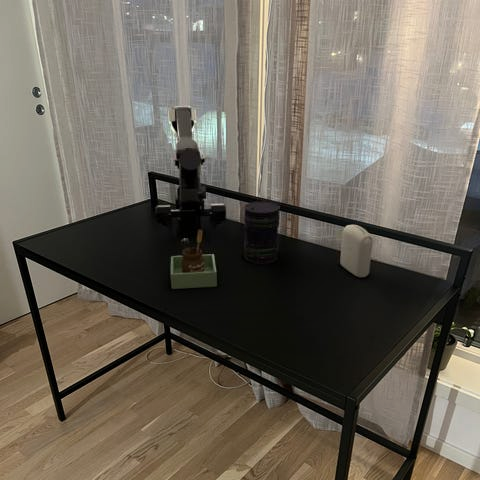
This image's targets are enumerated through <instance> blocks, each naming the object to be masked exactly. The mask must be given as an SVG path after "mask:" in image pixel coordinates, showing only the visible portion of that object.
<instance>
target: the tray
mask: <svg viewBox="0 0 480 480" xmlns="http://www.w3.org/2000/svg"><path fill="white" fill-rule="evenodd" d="M202 257H203V259H204V272H193V273H182V258H183V256H182V255H171V256H170V274H169V275H170V285H171V286H170V287H171V290H177V289H193V288H194V289H195V288H213V287H218V279H217V278H218V276H217V275H218V273H217V267H216V260H215V253H211V254H207V253H206V254H202Z"/></svg>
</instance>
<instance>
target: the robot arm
mask: <svg viewBox="0 0 480 480" xmlns="http://www.w3.org/2000/svg"><path fill="white" fill-rule="evenodd" d="M167 114H168V124H171V132H173V134H174V136H175V137H176V139H177V142H176V143H175V151H174V152H173V160H174V166H175V167H176V168H177V169H178V172H179V174H178V175H179V185H178V187H177V189H176V196H175V198H174V201H175V209H171V205H170V204H163V205H162V204H161V205H156V206H155V208H154V214H155V219H156V222H157V224H161V226H163V227H166V228H167V230H168V233H169V234H170V238H171V240H172V242H173V245H176V244H177V241H176V240H177V239H176V234H175V228H174V222H173V218H177V229H178V231H179V233H180V234H182V236H184V237H186V236H192V235H193V236H194V235H198V230H201V231H203V230H202V225H201V223H202V222H201V217H209V227H208V244H210V243H211V242H212V238H213V236H214V233H215V230H216V229H217V226H218V225H221V224H222V222H226V221H227V206H226V204H225V203H210V208H205V200H206V199H207V186H206V185H201V174H202V166H204V164H205V163H206V157H205V155H204V154H203V152H202V151H201V150H200V149H199V143H198V142H197V141H196V140H194V136H193V132H194V129H195V123H197V110H196V108H194V107H192V106H189V105H178V106H177V105H176V106H172V107H171V108H170V109H168V110H167ZM203 233H204V231H203V232H202V234H203ZM199 234H200V231H199Z"/></svg>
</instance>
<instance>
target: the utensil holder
mask: <svg viewBox="0 0 480 480" xmlns="http://www.w3.org/2000/svg"><path fill="white" fill-rule="evenodd" d="M201 230H202V229H201ZM201 230H198V234H197V235H196V236H197V237H196V242H197V245H196V247H191V246H192V245H191V243H189V242H190V240H189V239H188V238H185V237H184V238H182V239H181V241H180V242H181V243H183V241H185V240H186V243H185V242H184V243H183V244H180V246H181V248H182V252H181V256H183V258H182V273H193V272H204V259H203V257H202V255H203V250H202V249H201V248H200V243H202V239H203V233H204V231H203V230H202V231H201ZM199 231H200V233H199ZM202 232H203V233H202ZM185 244H186V245H187V246H185ZM186 247H187V248H186ZM183 248H184V249H183Z"/></svg>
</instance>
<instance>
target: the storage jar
mask: <svg viewBox="0 0 480 480" xmlns="http://www.w3.org/2000/svg"><path fill="white" fill-rule="evenodd" d="M243 221H244V222H243V225H244V229H245V232H244V233H245V234H244V235H245V237H244V239H243V240H244V241H243V242H244V245H243V249H244V259H245V260H246V261H247V262H249V263H253V264H260V265H261V264H270V263H273V262H276V261H277V260H278V257H279V254H278V253H279V242H280V240H279V236H278V234H279V227H280V204H278V203H275V202H272V201H266V200H263V201H262V200H260V201H259V200H257V201H252V202H248V203H246V204H245V205H244V215H243Z"/></svg>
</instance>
